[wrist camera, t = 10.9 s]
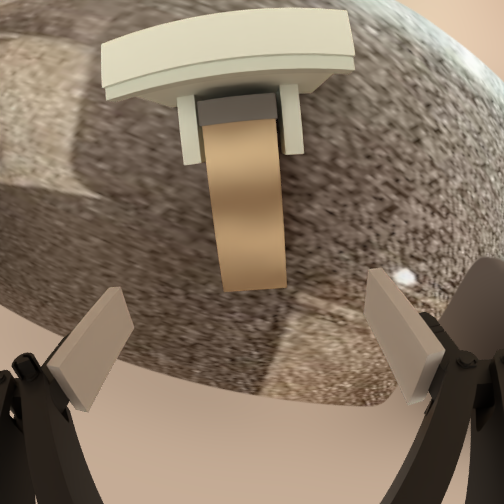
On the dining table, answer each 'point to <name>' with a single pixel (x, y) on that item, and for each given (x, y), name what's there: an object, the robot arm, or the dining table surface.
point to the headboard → (230, 64)
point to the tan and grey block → (245, 189)
